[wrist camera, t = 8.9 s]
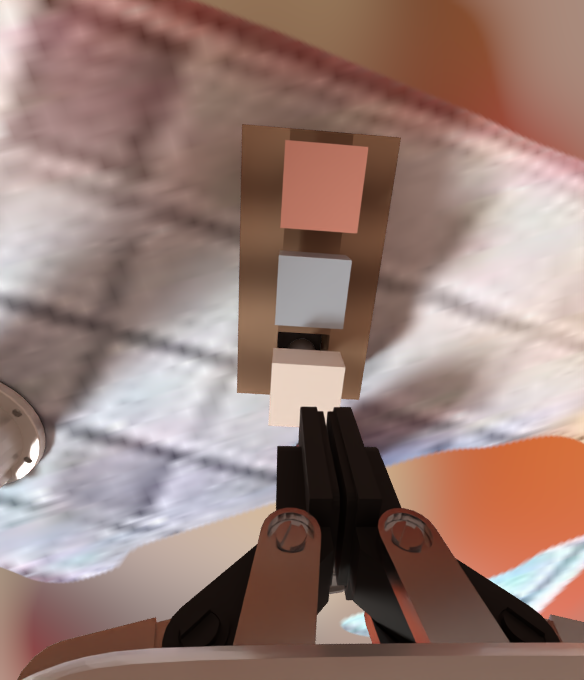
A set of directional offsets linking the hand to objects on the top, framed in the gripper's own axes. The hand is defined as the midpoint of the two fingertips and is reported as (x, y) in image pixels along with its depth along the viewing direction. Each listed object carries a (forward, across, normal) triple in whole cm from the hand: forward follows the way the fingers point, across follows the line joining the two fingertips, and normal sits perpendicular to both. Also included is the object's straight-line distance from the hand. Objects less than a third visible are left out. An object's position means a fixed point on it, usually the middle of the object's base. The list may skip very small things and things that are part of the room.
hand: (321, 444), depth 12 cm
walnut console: (+21, -1, -2) cm, 21 cm away
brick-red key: (+19, -1, -8) cm, 20 cm away
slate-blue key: (+19, -1, -2) cm, 19 cm away
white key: (+17, 0, +4) cm, 17 cm away
